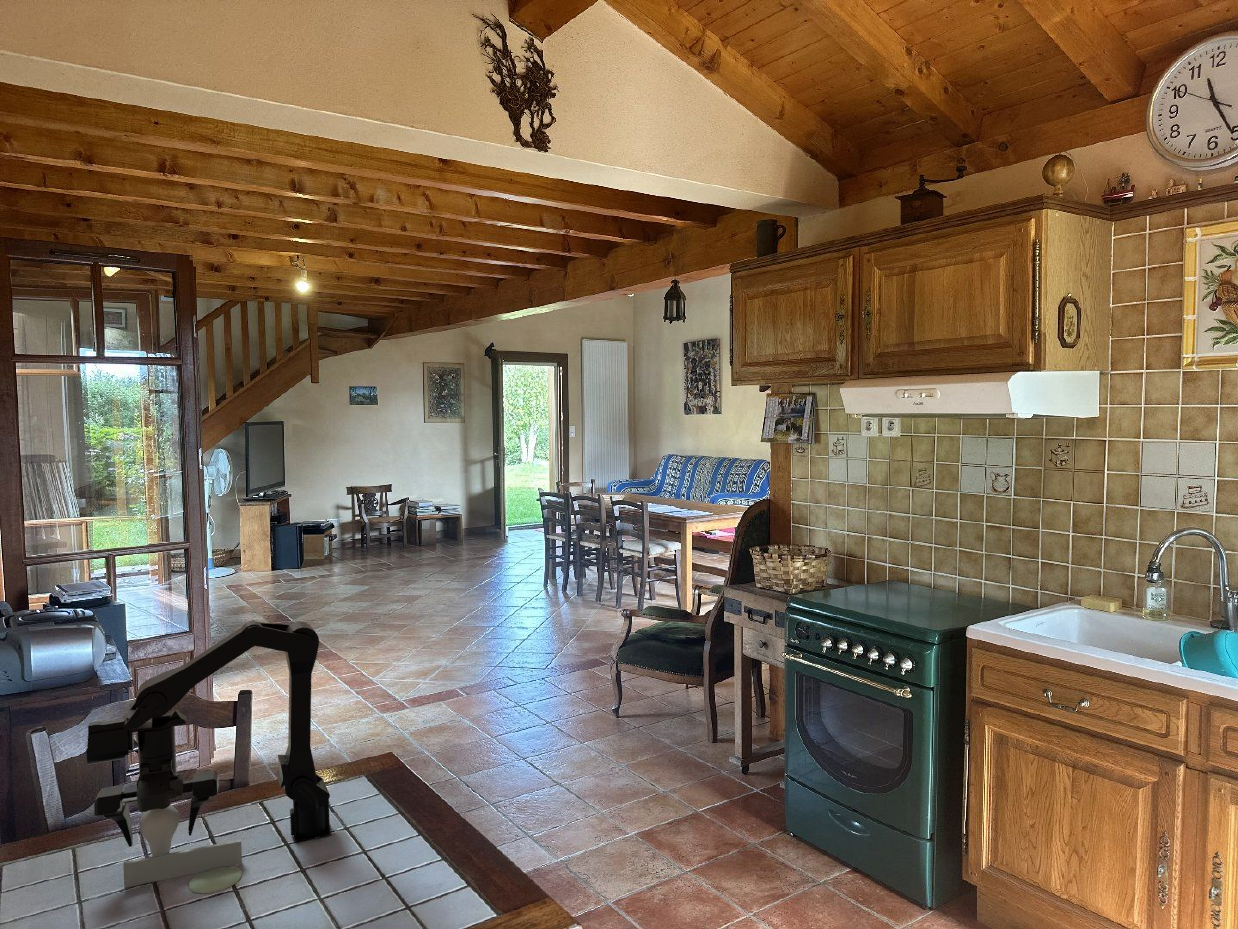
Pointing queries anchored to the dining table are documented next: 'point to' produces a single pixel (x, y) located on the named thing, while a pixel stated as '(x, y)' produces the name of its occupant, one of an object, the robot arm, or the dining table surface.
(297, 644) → the robot arm
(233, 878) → the pad
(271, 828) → the dining table surface
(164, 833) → the lightbulb
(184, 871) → the grey-green flat bar
